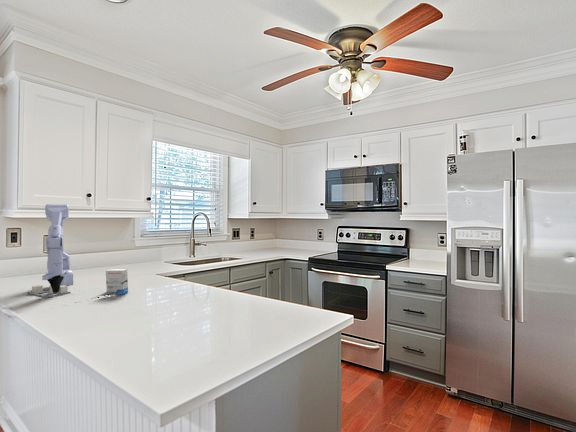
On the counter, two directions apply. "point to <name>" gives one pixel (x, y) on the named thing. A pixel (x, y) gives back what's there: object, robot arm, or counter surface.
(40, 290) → the off-white rectangular block
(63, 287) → the off-white rectangular block
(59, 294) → the grey divided tray
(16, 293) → the counter surface
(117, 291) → the ink box
